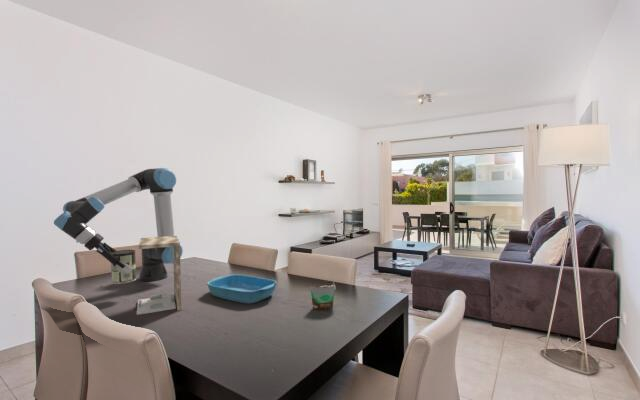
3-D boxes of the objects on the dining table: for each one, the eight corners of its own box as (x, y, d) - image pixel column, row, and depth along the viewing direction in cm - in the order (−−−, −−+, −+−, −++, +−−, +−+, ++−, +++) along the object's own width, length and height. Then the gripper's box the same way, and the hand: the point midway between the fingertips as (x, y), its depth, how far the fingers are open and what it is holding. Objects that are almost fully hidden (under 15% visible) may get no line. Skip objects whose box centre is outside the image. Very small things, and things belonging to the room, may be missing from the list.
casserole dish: (198, 296, 161) (198, 281, 161) (232, 284, 180) (232, 271, 180) (254, 309, 142) (254, 293, 142) (285, 295, 161) (285, 281, 161)
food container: (316, 313, 136) (315, 289, 136) (309, 308, 142) (309, 285, 142) (341, 308, 142) (341, 285, 142) (334, 303, 147) (334, 282, 147)
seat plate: (136, 314, 136) (136, 308, 136) (138, 301, 152) (138, 296, 152) (175, 308, 143) (175, 303, 143) (173, 296, 159) (173, 291, 159)
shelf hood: (140, 316, 134) (138, 245, 133) (142, 299, 155) (140, 238, 154) (181, 310, 141) (179, 242, 140) (177, 294, 162) (176, 235, 162)
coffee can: (125, 277, 162) (124, 249, 161) (141, 278, 159) (140, 250, 158) (106, 283, 152) (104, 253, 152) (122, 284, 149) (121, 254, 148)
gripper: (87, 241, 158) (126, 269, 166) (78, 249, 138) (122, 280, 145) (100, 230, 160) (138, 258, 168) (92, 235, 140) (136, 267, 148)
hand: (131, 268), depth 157 cm, fingers closed on coffee can, 10 cm apart
